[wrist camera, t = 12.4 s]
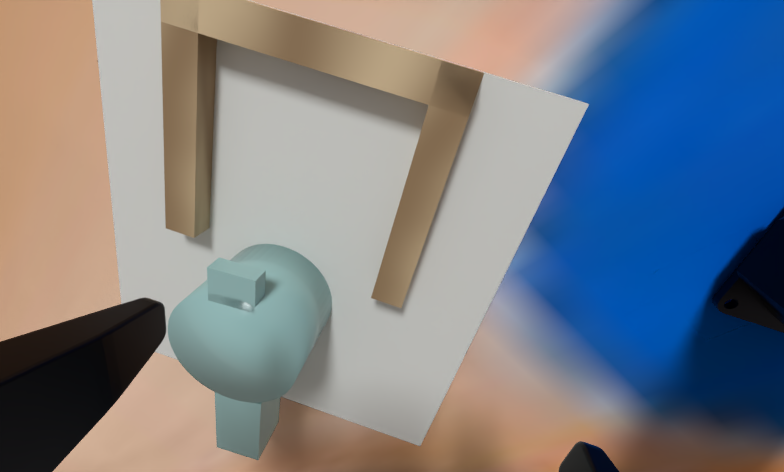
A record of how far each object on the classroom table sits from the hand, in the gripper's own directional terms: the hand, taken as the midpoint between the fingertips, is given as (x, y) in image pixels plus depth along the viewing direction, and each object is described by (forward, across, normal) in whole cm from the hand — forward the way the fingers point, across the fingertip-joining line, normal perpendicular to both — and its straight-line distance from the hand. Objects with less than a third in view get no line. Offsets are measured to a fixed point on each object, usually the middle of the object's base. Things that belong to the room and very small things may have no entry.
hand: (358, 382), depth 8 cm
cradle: (+10, +5, -1) cm, 11 cm away
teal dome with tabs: (+10, +6, +9) cm, 15 cm away
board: (+11, +6, +4) cm, 13 cm away
